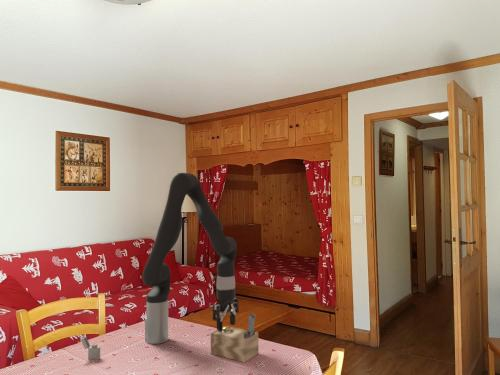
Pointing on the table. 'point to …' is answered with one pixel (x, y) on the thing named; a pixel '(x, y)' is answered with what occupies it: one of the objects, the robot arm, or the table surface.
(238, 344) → the block
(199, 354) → the table surface
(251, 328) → the grey handle
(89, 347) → the lighter
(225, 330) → the pin
